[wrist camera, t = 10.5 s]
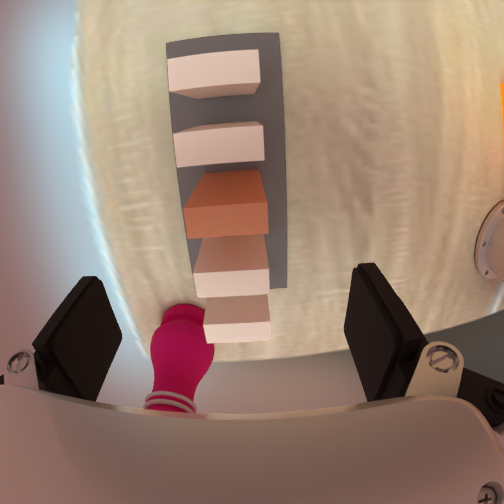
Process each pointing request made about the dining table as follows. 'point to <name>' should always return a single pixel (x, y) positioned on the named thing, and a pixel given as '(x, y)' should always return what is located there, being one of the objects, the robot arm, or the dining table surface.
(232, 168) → the mat
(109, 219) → the dining table surface
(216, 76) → the domino
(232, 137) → the domino
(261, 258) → the domino
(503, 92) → the orange juice
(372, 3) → the dining table surface
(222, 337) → the domino
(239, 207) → the domino
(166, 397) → the pepper mill
